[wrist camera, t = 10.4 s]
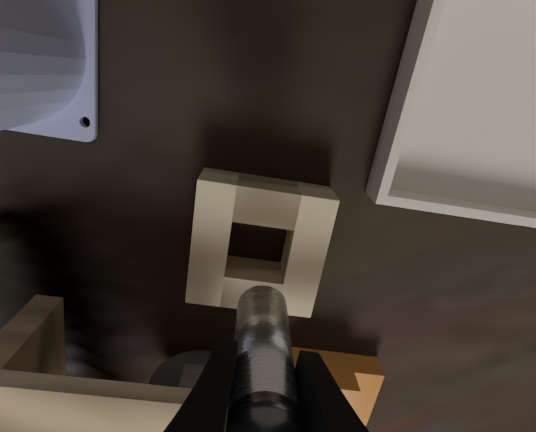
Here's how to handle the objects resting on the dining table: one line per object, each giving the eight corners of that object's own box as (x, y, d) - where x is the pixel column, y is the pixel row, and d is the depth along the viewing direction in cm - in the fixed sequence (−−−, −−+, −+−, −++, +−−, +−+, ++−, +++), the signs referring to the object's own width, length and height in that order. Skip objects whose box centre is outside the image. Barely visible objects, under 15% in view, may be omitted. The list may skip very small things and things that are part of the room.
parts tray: (441, -90, 16) (466, -112, 14) (705, -31, 17) (760, -44, 15) (364, 191, 20) (375, 203, 19) (576, 224, 22) (606, 238, 20)
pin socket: (204, 167, 20) (197, 179, 17) (330, 186, 20) (339, 200, 18) (192, 278, 22) (184, 302, 20) (304, 292, 23) (310, 317, 20)
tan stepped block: (375, 353, 25) (392, 395, 22) (358, 401, 27) (372, 446, 23) (260, 339, 24) (261, 379, 21) (250, 389, 26) (249, 434, 23)
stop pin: (240, 282, 14) (229, 414, 9) (290, 288, 14) (311, 421, 9) (234, 324, 15) (220, 471, 9) (282, 329, 15) (296, 477, 10)
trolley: (32, 287, 22) (-67, 379, 15) (260, 314, 23) (261, 412, 17) (40, 397, 25) (-39, 514, 18) (241, 417, 26) (235, 533, 20)
